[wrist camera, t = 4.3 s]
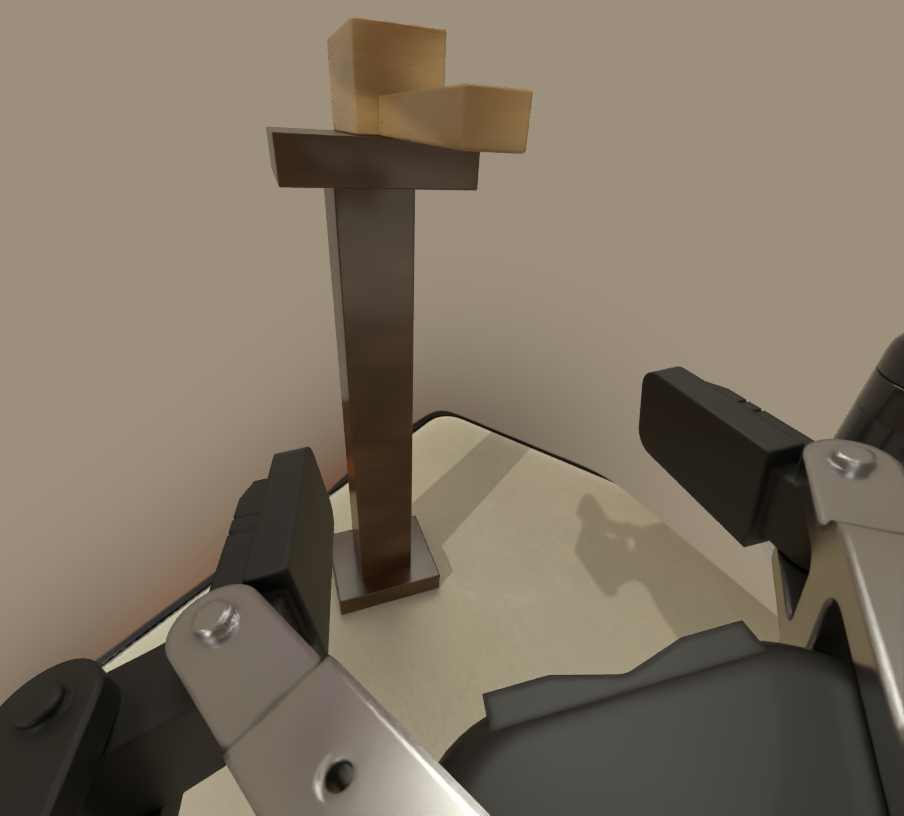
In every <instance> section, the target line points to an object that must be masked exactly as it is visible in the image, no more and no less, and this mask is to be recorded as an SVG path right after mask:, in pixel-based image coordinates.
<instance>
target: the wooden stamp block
mask: <svg viewBox="0 0 904 816" xmlns="http://www.w3.org/2000/svg"><path fill="white" fill-rule="evenodd" d="M327 44H328V59H329V73H330V87H331V102H332V114H333V115H332V116H333V128H334V130H335V131H340V132H345V133H350V134H354V135H363V136H381V137H387V138H392V139H398V140H404V141H409V142H415V143H420V144H426V145H432V146H437V147H443V148H449V149H454V150H460V151H473V152H496V153H518V154H522V153H524V152H525V151H526V143H527V135H528V127H529V119H530V110H531V102H532V101H531V100H532V91H531V90H527V89H517V88H507V87H497V86H487V85H486V86H485V85H476V84H461V85H453V86H446V87H444V77H445V52H446V30H445V29H441V28H434V27H427V26H420V25H412V24H404V23H397V22H390V21H383V20H376V19H368V18H361V17H354V16H352V17H350V18H349V19H348V20H347V21H346V22H345V23H344V24H343V25H342V26H341V27H340V28H339V29H338V30H337V31H336V32H335V33H334V34H333V35H332V36H331V37H330V38H329V39H328V40H327Z"/></svg>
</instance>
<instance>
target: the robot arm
mask: <svg viewBox="0 0 904 816" xmlns="http://www.w3.org/2000/svg"><path fill="white" fill-rule="evenodd" d="M639 435H640V439H641V442H642V444H643V446H644V448H645V450H646V451H647V452H648V453H649V454H650V455H651V456H652V457H653V458H654V459H655V460H656V461H657V462H658V463H659V464H660V465H661V466H662V467H663V468H664V469H665V470H666V471H667V472H668V473H669V474H670V475H671V476H672V477H673V478H674V479H675V480H676V481H677V482H678V483H679V484H680V485H681V486H682V487H683V488H684V489H686V491H687V492H688V493H689V494H690V495H691V496H692V497H693V498H695V500H696V501H697V502H699V504H700V505H701V506H703V507H704V508H705V509H706V510H707V511H708V512H709V513H710V514H711V515H712V516H713V517H714V518H715V519H716V520H717V521H718V522H719V523H720V524H721V525H722V526H723V527H724V528H725V529H726V530H727V531H728V532H729V533H730V534H731V535H732V536H733V537H734V538H735V539H736V540H737V541H738V542H739V543H740V544H741V545H742V546H743V547H747V546H751V545H755V544H758V543H762V542H766V541H770V542H771V543H772V544H773V545H774V546H775V547H774V550H773V554H772V568H773V577H774V586H775V594H776V602H777V611H778V620H779V629H780V643H776V642H767V641H759V640H758V639H757V637H756V636H755V635H754V634H753V633H752V631H751V630H750V629H749V628H748V627H747V626H746V624H745V623H744V622H743V621H742V620H741V621H738V622H734V623H731V624H727V625H724V626H720V627H717V628H713V629H710V630H706V631H702V632H699V633H695V634H692V635H688V636H685V637H681V638H680V639H678V640H677V641H675V642H674V643H672V644H671V645H669V646H668V647H666V648H665V649H663V650H662V651H660V652H659V653H657V654H656V655H654V656H653V657H651V658H650V659H648V660H647V661H645V662H644V663H642V664H641V665H639V666H638V667H636V668H635V669H633V670H632V671H630V672H628V673H624V674H614V675H548V676H544V677H541V678H537V679H534V680H530V681H527V682H523V683H520V684H516V685H513V686H509V687H506V688H502V689H498V690H495V691H491V692H488V693H484V694H482V695H483V700H484V706H485V711H486V717H485V718H483V719H482V720H480V721H479V722H477V723H476V724H474V725H473V726H472V727H470V728H469V729H468V730H467V731H466V732H465V733H463V734H462V735H461V736H460V737H459V738H458V739H457V740H456V741H455V742H454V743H453V744H452V746H451V747H450V748H449V749H448V750H447V751H446V752H445V754H444V755H443V757H442V758H441V759H440V761H439V762H437V761H436V760H435V759H434V758H433V757H432V756H431V755H430V754H429V753H428V752H427V751H426V750H425V749H424V748H423V747H422V746H421V745H420V744H419V743H418V742H417V741H416V740H415V739H414V738H413V737H412V736H411V735H410V734H409V733H408V732H407V731H406V730H405V729H404V728H403V727H402V726H401V724H400V723H399V722H398V721H397V720H396V719H395V718H394V717H393V716H392V715H391V714H390V713H389V712H388V711H387V710H386V709H385V708H384V707H383V706H382V705H381V704H380V703H379V702H378V701H377V700H376V699H375V698H374V697H373V696H372V695H371V694H370V693H369V692H368V691H367V690H366V689H365V688H364V687H363V686H362V685H361V684H360V683H359V682H358V681H357V680H356V679H355V678H354V677H353V676H352V675H351V674H350V673H349V672H348V671H347V670H346V669H345V668H344V667H343V666H342V665H341V664H340V663H339V662H338V661H337V660H336V659H335V658H333V657H332V656H330V655H328V643H329V622H330V600H331V579H332V558H333V536H334V518H333V511H332V506H331V502H330V499H329V496H328V493H327V490H326V487H325V485H324V482H323V479H322V476H321V473H320V470H319V468H318V465H317V462H316V459H315V456H314V454H313V452H312V450H311V448H310V447H304V448H300V449H295V450H291V451H286V452H282V453H277V454H275V455H274V457H273V460H272V464H271V468H270V472H269V476H268V478H267V479H262V480H258V481H254V482H253V484H252V485H251V486H250V487H249V488H248V490H247V491H246V492H245V493H244V494H243V495H242V497H241V498H240V499H239V502H238V505H237V508H236V512H235V515H234V520H233V521H232V524H231V527H230V530H229V536H227V539H226V542H225V545H224V548H223V551H222V554H221V558H220V560H219V563H218V566H217V569H216V572H215V575H214V578H213V581H212V584H211V587H210V590H209V592H208V593H207V594H205V595H203V596H202V597H200V598H198V599H197V600H196V601H194V602H193V603H192V604H190V605H189V606H188V607H187V608H186V609H185V610H184V611H183V612H182V613H181V614H180V616H179V617H178V618H177V619H176V621H175V622H174V624H173V625H172V627H171V629H170V631H169V633H168V636H167V638H166V642H165V643H163V644H162V645H160V646H158V647H156V648H154V649H152V650H151V651H149V652H147V653H145V654H143V655H141V656H139V657H137V658H135V659H133V660H131V661H129V662H127V663H125V664H123V665H121V666H119V667H117V668H115V669H113V670H111V671H109V672H108V673H106V672H105V671H104V670H103V669H102V668H101V666H100V665H99V664H98V663H96V662H95V661H93V660H91V659H84V658H82V659H74V660H69V661H66V662H63V663H60V664H57V665H55V666H53V667H51V668H49V669H47V670H45V671H44V672H42V673H40V674H38V675H37V676H36V677H34V678H33V679H31V680H30V681H28V682H27V683H25V684H24V685H23V686H22V687H20V688H19V689H18V690H17V691H16V692H14V693H13V694H12V695H11V696H10V697H9V698H8V699H7V700H6V701H5V702H4V703H3V704H2V705H1V706H0V816H178V815H179V810H180V805H181V801H182V796H183V793H184V792H185V791H187V790H188V789H190V788H192V787H193V786H195V785H196V784H198V783H199V782H201V781H203V780H204V779H206V778H207V777H209V776H210V775H212V774H214V773H215V772H217V771H218V770H220V769H221V768H223V767H225V766H226V765H227V766H228V768H229V770H230V772H231V773H232V775H233V777H234V778H235V780H236V782H237V783H238V785H239V787H240V789H241V790H242V792H243V794H244V795H245V797H246V799H247V800H248V802H249V804H250V806H251V807H252V809H253V811H254V812H255V814H256V816H904V333H903V334H901V335H899V336H898V337H896V338H895V339H894V340H893V341H892V342H891V343H890V345H889V346H888V348H887V349H886V351H885V353H884V354H883V356H882V357H881V359H880V361H879V363H878V365H877V366H876V367H875V369H874V371H873V372H872V374H871V376H870V377H869V379H868V381H867V382H866V384H865V386H864V387H863V389H862V391H861V393H860V394H859V396H858V398H857V400H856V401H855V403H854V404H853V406H852V408H851V409H850V411H849V413H848V414H847V416H846V418H845V419H844V421H843V423H842V424H841V426H840V428H839V429H838V431H837V433H836V434H835V436H834V437H833V439H825V440H818V441H814V440H812V439H810V438H809V437H807V436H805V435H804V434H802V433H800V432H798V431H797V430H795V429H794V428H792V427H790V426H789V425H787V424H785V423H784V422H782V421H781V420H779V419H777V418H775V417H774V416H772V415H770V414H769V413H767V412H766V411H761V408H759V407H757V406H756V405H754V404H752V403H751V402H746V399H744V398H743V397H741V396H739V395H738V394H736V393H734V392H733V391H731V390H729V389H727V388H724V387H721V386H718V385H715V384H712V383H709V382H706V381H704V380H702V379H700V378H699V377H697V376H696V375H694V374H692V373H691V372H689V371H687V370H686V369H684V368H682V367H673V368H668V369H664V370H659V371H655V372H650V373H647V374H646V375H645V377H644V379H643V383H642V394H641V407H640V420H639Z"/></svg>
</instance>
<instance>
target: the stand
mask: <svg viewBox="0 0 904 816" xmlns="http://www.w3.org/2000/svg"><path fill="white" fill-rule="evenodd" d="M266 130H267V138H268V145H269V152H270V160H271V167H272V170H273V173H274V175H275V178H276V180H277V183H278V185H279V187H293V188H298V187H299V188H324V194H325V206H326V218H327V230H328V242H329V254H330V266H331V278H332V290H333V301H334V313H335V325H336V337H337V349H338V361H339V372H340V385H341V396H342V407H343V421H344V432H345V443H346V444H345V445H346V457H347V468H348V480H349V492H350V504H351V516H352V528H353V530H349V531H345V532H340V533H336V534H334V536H333V558H332V566H333V572H334V577H335V583H336V588H337V594H338V599H339V605H340V610H341V614H342V615H343V614H346V613H350V612H353V611H357V610H360V609H364V608H367V607H371V606H375V605H378V604H382V603H385V602H389V601H392V600H396V599H399V598H403V597H407V596H410V595H414V594H417V593H421V592H424V591H428V590H431V589H435V588H438V587H439V578H440V574H439V572H438V570H437V567H436V565H435V562H434V560H433V557H432V555H431V552H430V550H429V548H428V545H427V543H426V540H425V538H424V535H423V533H422V531H421V528H420V526H419V523H418V521H417V518H416V516H412V517H411V506H412V411H413V409H412V407H413V318H414V317H413V316H414V313H413V312H414V224H415V189H419V190H420V189H421V190H477V183H478V169H479V155H480V152H473V151H460V150H454V149H449V148H443V147H437V146H432V145H426V144H420V143H415V142H409V141H404V140H398V139H392V138H387V137H381V136H363V135H354V134H350V133H345V132H340V131H334V130H316V129H297V128H280V127H266Z"/></svg>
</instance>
